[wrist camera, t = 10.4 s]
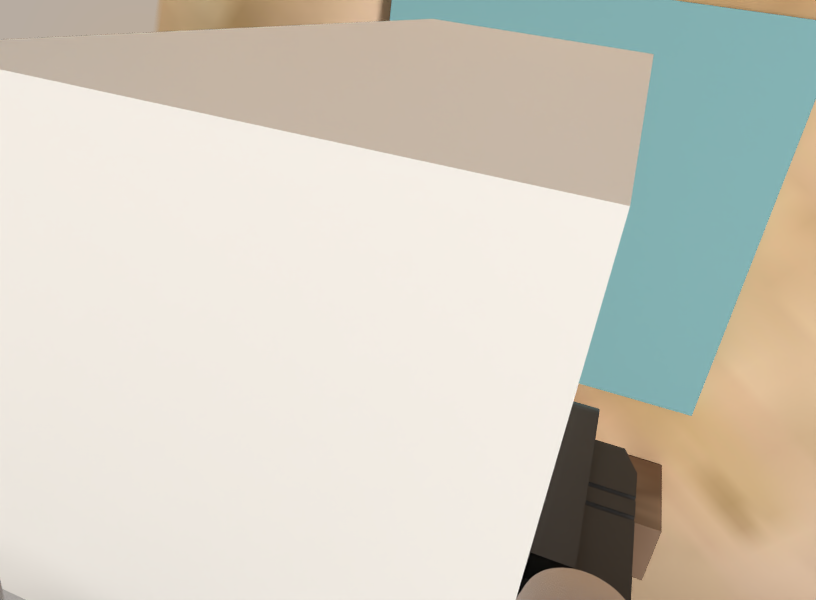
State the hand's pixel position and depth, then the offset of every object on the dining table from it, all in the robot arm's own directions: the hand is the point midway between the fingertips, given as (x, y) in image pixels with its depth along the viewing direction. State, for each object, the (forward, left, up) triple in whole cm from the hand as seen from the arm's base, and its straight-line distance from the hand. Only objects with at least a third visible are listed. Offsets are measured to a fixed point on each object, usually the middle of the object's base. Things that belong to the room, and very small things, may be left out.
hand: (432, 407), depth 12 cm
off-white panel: (0, 0, -3) cm, 3 cm away
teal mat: (0, 0, -15) cm, 15 cm away
